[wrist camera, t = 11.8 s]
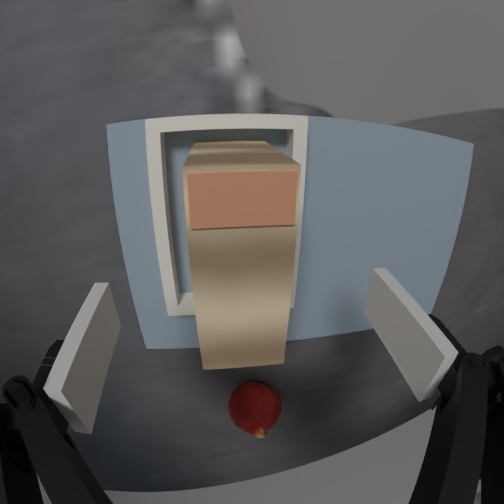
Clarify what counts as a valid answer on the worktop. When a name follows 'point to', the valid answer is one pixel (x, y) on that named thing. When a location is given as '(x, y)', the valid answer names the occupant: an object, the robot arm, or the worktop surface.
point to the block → (241, 249)
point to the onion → (254, 408)
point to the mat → (309, 219)
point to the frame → (159, 186)
